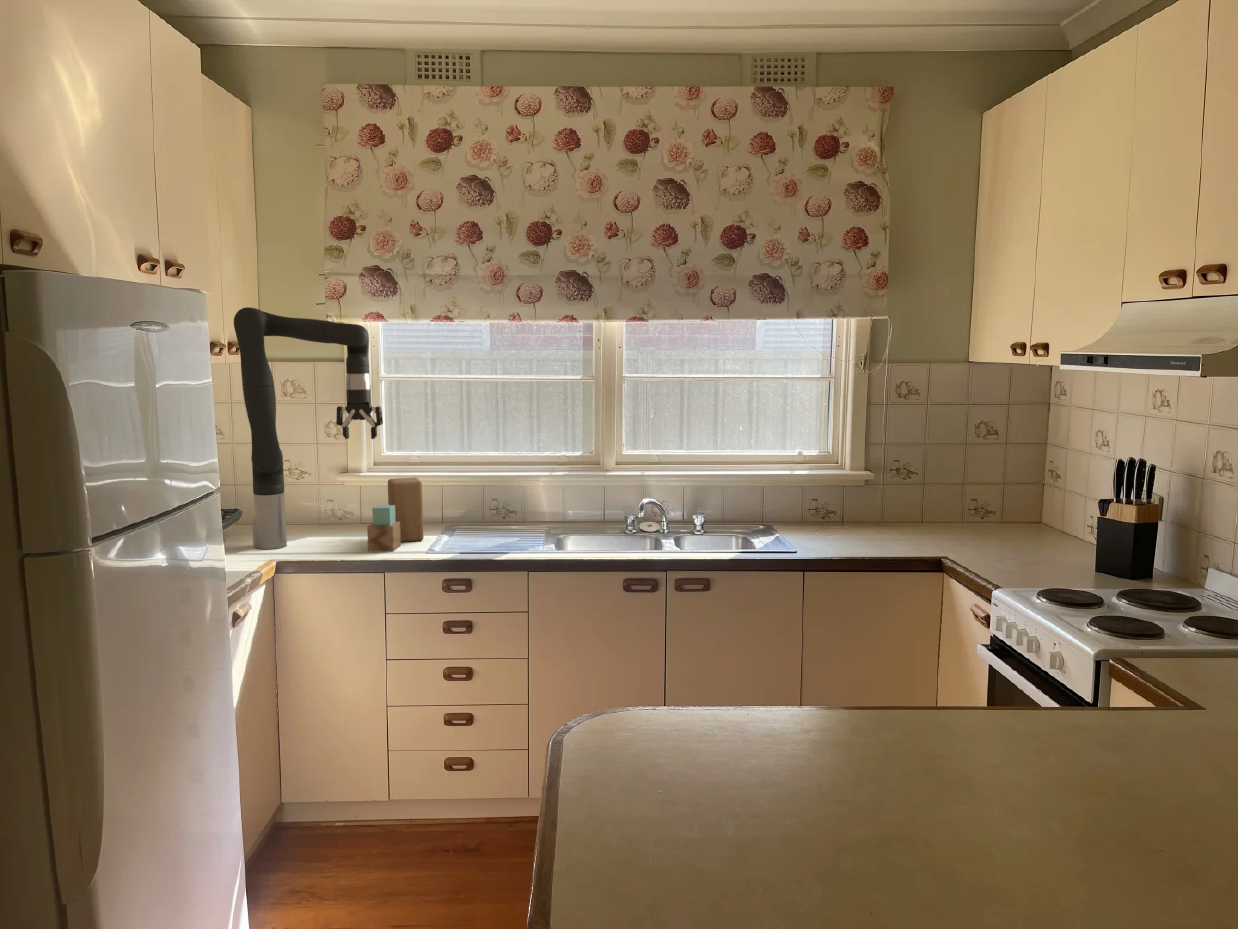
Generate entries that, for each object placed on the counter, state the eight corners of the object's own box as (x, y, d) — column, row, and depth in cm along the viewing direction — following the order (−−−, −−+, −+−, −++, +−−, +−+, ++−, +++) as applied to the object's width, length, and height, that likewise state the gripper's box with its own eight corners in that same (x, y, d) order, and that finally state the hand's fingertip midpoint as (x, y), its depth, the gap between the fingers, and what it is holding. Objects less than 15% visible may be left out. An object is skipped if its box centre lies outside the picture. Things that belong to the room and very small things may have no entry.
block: (389, 537, 308) (387, 478, 306) (419, 535, 312) (417, 477, 309) (393, 543, 299) (391, 482, 297) (424, 541, 303) (422, 480, 300)
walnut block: (368, 551, 288) (367, 526, 287) (376, 546, 296) (375, 521, 295) (393, 551, 287) (392, 526, 286) (400, 546, 295) (400, 521, 294)
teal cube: (372, 525, 288) (372, 507, 288) (378, 522, 294) (378, 505, 293) (390, 525, 288) (389, 508, 287) (395, 522, 293) (395, 505, 293)
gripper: (332, 388, 289) (334, 439, 291) (376, 388, 289) (378, 440, 291) (340, 387, 297) (342, 437, 299) (384, 387, 296) (385, 437, 298)
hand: (360, 438), depth 295 cm, fingers open, 8 cm apart
